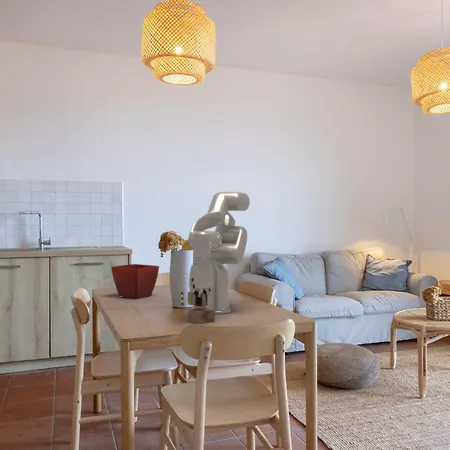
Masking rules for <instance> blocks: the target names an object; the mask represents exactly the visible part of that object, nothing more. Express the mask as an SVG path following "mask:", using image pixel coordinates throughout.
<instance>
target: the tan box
mask: <svg viewBox="0 0 450 450" xmlns="http://www.w3.org/2000/svg"><path fill="white" fill-rule="evenodd" d="M215 315H216V314H215V310H212V309H208V308H207V307H194V308H188V310H187V317H188V318H187V321H189V322H192V323H194V324H197V323H198V324H197V325H200V324H201V325H202V324H208V323H215V320H216V318H215Z"/></svg>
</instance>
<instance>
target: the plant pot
mask: <svg viewBox="0 0 450 450" xmlns="http://www.w3.org/2000/svg"><path fill="white" fill-rule="evenodd" d="M159 269H160V265H151V264H140V263H139V264H138V263H132V264H123V265H122V264H121V265H115V266H111V275H112V279H113V282H114V285H115V289H116V291H117V295H118V297H119V296H122V297H121V298H125V297H129V298H128V299H132V298H138V299H142V298H141V297H143V298H147V297H146V296H148V297H151V296H152V294H153V293H154V292H153V291H154V289H155V286H156V283H157V279H158V274H159V272H160V271H159Z"/></svg>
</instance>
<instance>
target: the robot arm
mask: <svg viewBox="0 0 450 450" xmlns="http://www.w3.org/2000/svg"><path fill="white" fill-rule="evenodd" d="M250 203H251V201H250V197H249V195H248V194H247V193H245V192H241V191H219V192H216V193H215V194H214V195H213V197H212V199H211V202H210V204H209V207H208V210H207V213H205V214H203V215H202V216H201V217H199V218H198V219H196V221H194V223H193V224H192V226H191V229H190V231H189V234H188V237H187V239H188V240H187V241H188V244H189V246H190V248H192V264H191V266H190V270H189V277H188V279H189V280H188V287H189V291H188V292H192V293H193V294H194V296H195V305H196V306H195V307H199V306H202V297H200V296H201V293H205V295H206V308H208V309H212V310H215V315H216V314H217V315H220V314H222V315H223V314H229V313H231V312H232V308H231V307H230V306H235V301H233V300H232V301H230V300H229V273H228V270H227V268H226V267H225V265H239V264H241V263H242V261H243V259H244V255H245V250H246V246H247V243H248V242H247V241H248V231H247V229H246V227H243V226H240V225H236V220H235V218H234V217H233V215H232V214H231V213H230V211H231V212H233V211H235V212H237V211H241V212H243V211H244V212H246V211H247V210H248V209H249V207H250ZM211 228H215V230H212V231H211V230H209V229H211Z"/></svg>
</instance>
